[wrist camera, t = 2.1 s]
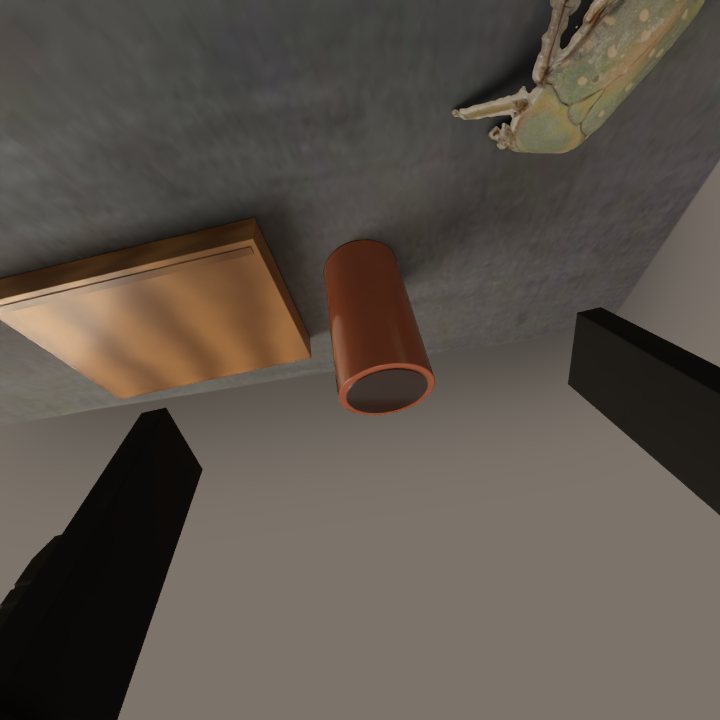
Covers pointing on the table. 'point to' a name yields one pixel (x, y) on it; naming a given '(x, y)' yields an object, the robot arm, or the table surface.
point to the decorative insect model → (586, 72)
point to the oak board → (162, 311)
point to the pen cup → (374, 331)
